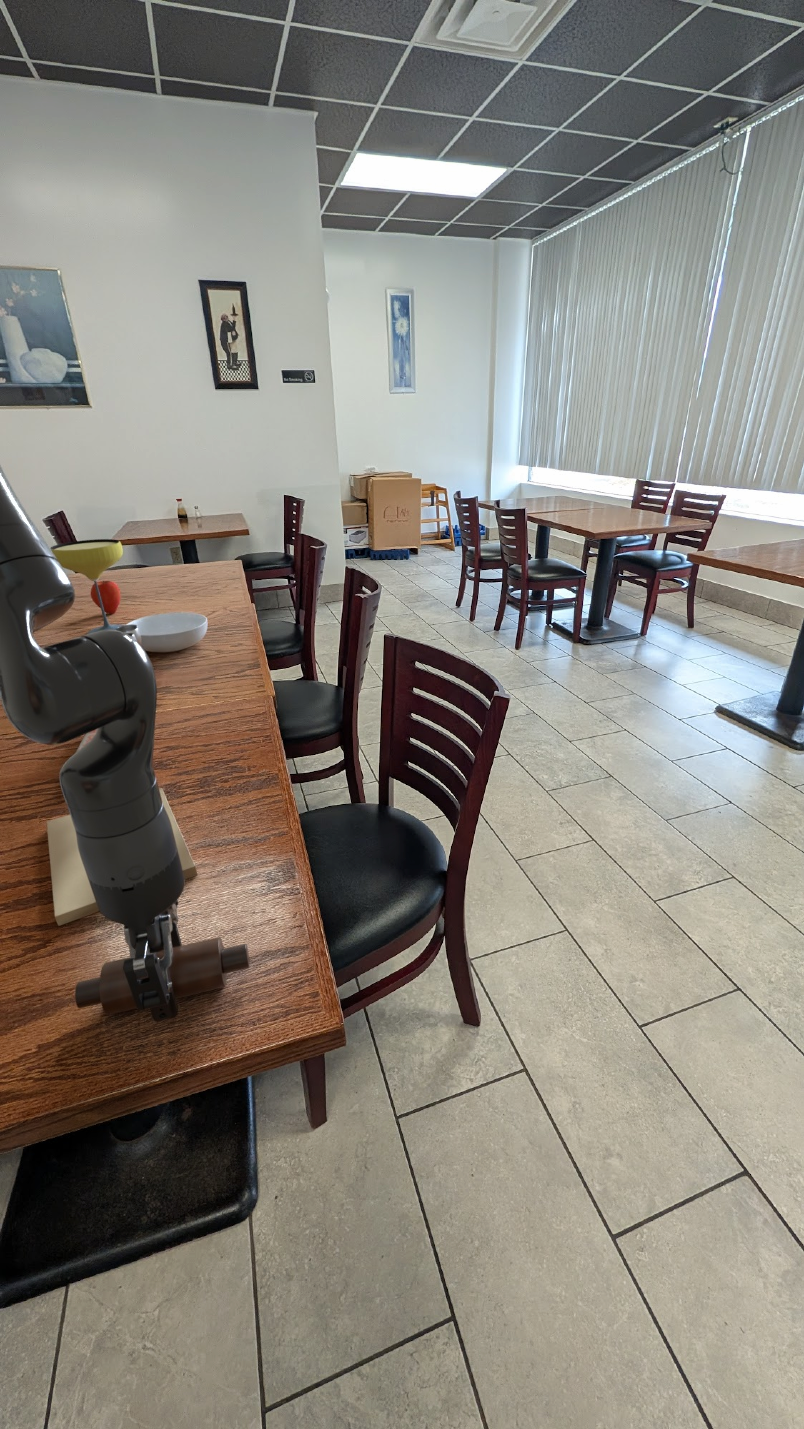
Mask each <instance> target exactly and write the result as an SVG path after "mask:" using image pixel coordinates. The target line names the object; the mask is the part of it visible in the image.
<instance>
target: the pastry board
mask: <svg viewBox="0 0 804 1429" xmlns="http://www.w3.org/2000/svg"><path fill="white" fill-rule="evenodd" d="M159 790H160V794H161V798H162V802H163V805H164V808H165V810H166V812H167V814H168V817H169V819H170V822H171V825H172V829H173V833H174V837H175V841H176V845H177V849H178V853H179V857H180V861H181V865H182V869H183V873H184V877H185V880H188V879H191V878H193V877H196V876H198V871H197V867H196V863H195V861H194V859H193V857H192V854H191V852H190V850H189V847H188V845H187V843H186V840H185V838H184V836H183V834H182V831H181V829H180V827H179V824H178V823H177V820H176V817H175V815H174V813H173V810H172V808H171V806H170V804H169V802H168V799H167V797H166V794H165V792H164V790H163V788H162V787H159ZM46 831H47V843H48V844H47V845H48V857H49V866H50V868H49V869H50V878H51V879H50V880H51V887H52V888H51V890H52V900H53V901H52V902H53V914H54V918H55V922H56V925H57V926H58V927H60V926H64V925H65V924H69V923H71V922H74V921H76V920H79V919H82V918H84V917H87V916H90V915H93V914H96V913H98V912H100V911H99V909H98V906H97V903H96V900H95V897H94V894H93V891H92V889H91V886H90V883H89V880H88V877H87V874H86V871H85V868H84V865H83V862H82V859H81V856H80V853H79V849H78V844H77V837H76V831H75V828H74V825H73V822H72V819H71V816H70V814H67V815H64V816H60V817H57V818H54V819H50V820H47V821H46Z"/></svg>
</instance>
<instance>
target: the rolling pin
mask: <svg viewBox="0 0 804 1429" xmlns="http://www.w3.org/2000/svg"><path fill="white" fill-rule="evenodd" d="M248 948H249V947H248V945H247V943H242V944H238V945H234V946H230V947H224V944H223V940H222V937H221V936H218V937H214V938H210V939H205V940H202V941H200V940H199V941H196V942H191V943H187V944H182V946H178V947H173V956H174V960H173V962H172V964H171V966H170V967H169V969H170V977H171V982H172V985H173V987H172V988H173V991H174V994H175V998H176V1000H177V999H181V998H185V997H189V996H193V995H197V994H201V993H205V992H209V991H214V990H217V989H222V988H225V987H226V986H227V982H228V981H227V980H228V979H227V976H228V975H227V974H229V973H235V972H238V971H239V972H240V971H243V970H247V969H249V968H250V967H251V966H250V964H251V963H250V955H249V949H248ZM155 953H156V956H157V957H158V958H161V957H164V956H165V952H164V950H161V951H159V952H155ZM151 954H153V953H151ZM126 959H130V956H128V957H124V958H120V959H116V960H111V961H106V962H104V963H103V964H102V967H101V970H100V975H99V977H94V978H90V979H86V980H80V981H78V982H77V983H76V986H75V989H74V990H75V991H74V998H75V1004H76V1006H77V1008H78V1009H83V1008H84V1009H85V1008H89V1007H91V1006H96V1005H100V1004H101V1008H102V1010H103V1013H104V1014H105V1015H107V1016H111V1015H115V1014H119V1013H123V1012H124V1013H125V1012H127V1011H131V1010H135V1009H137V1007H136V1003H135V1001H134V998H133V995H132V992H131V989H130V987H129V984H128V981H127V978H126V976H125V973H124V971H123V965H124V960H126Z"/></svg>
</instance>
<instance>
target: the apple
mask: <svg viewBox="0 0 804 1429" xmlns="http://www.w3.org/2000/svg"><path fill="white" fill-rule="evenodd" d="M97 585H98V589H99V593H100V597H101V601H102V604H103V608H104V611H105V614H116V612H117V611H118V608H119V606H120V602H121V590H120V587H119V586H118V584H116V583H115V581H114V582H113V581H112V580H102V581H97ZM90 598H91V599H92V602H93V603H94V604H95V605H96V606H97V607H98V608H100V609H101V606H100V602H99V598H98V595H97V591H96V587H95V583H94V582H93V584H92V586H91V589H90Z"/></svg>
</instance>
